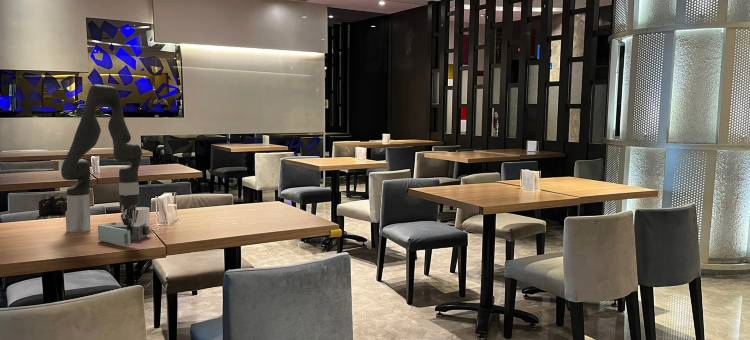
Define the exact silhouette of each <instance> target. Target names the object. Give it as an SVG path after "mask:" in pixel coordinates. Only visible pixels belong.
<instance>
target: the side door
mask: <svg viewBox="0 0 750 340" xmlns="http://www.w3.org/2000/svg"><path fill="white" fill-rule="evenodd" d="M104 225H105V224H104ZM104 225H103V224H98V225H97V230H98V231H97V232H98V233H97V234H98V241H99V242H100V241H101V242H104V243H109V244H114V245H118V246H122V247H123V246H124V247H131V241H130V230H125V229H120V228H114V227H109V226H104Z"/></svg>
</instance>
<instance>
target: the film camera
mask: <svg viewBox="0 0 750 340" xmlns="http://www.w3.org/2000/svg"><path fill="white" fill-rule="evenodd" d="M66 211H67V197H64V196H63V195H58V194H54V193H53V194H49V196H47V197H43V198H41V199H40V200H38V215H39V216H46V215H51V214H53V215H55V214H59V215H60V214H65V212H66Z"/></svg>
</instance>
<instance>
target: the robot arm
mask: <svg viewBox="0 0 750 340" xmlns="http://www.w3.org/2000/svg"><path fill="white" fill-rule="evenodd" d="M122 106H123V105H122V102H121V98H120V94H119V91H118V89H117V88H116V87H115V86H112V85H104V84H93V85H91V86H90V88H89V90H88V92H87V96H86V100H85V105H84V109H83V111H82V115H81V118H80V120H79V121H80V122H79V123H78V126H77V128H76V131H75V133H74V136H73V137H74V138H73V140H72V143H71V145H70V148H69V150H68V152H67V155H66V156H65V157H64V159H63V161H62V164H61V168H60V173H61V176H62V178H63V180H65V181H77V182H76V183H75V184H74V185H72V186H69V187H68V188H67V189H66V198H67V200H66V202H67V211H66V212H65V213H64V214H65V232H66V233H73V234H74V233H75V234H76V233H78V234H79V233H85V232H89V231H92V230H91V210H90V209H91V208H90V206H91V205H90V203H91V202H90V188H91V166H90V163H89V161H88V160H86V159H83V158H82V157H84V155H86V154H87V153H88V152H90V151H91V149H93V148H94V147H95V146H96V145H97V143H98V141H99V138H100V136H101V132H102V131H101V129H102V128H101V125H100V122H99V121H98V119H97V116H96V110H97V108H98V107H99V108H100V107H101V108H110V110H111V111H112V113H111V115H110V119H109V121H108V125H107V127H108V132H109V135H110V136H111V139H112V145H113V153H112V154H113V158H114V159H115V160H116V161H117V162H119V163H121V162H123V163H124V162H125V163H126V162H129V164H128V165H127V166H124V167H121V168H119V170H118V176H119V177H118V181H119V183H118V199H119V201H118V203H119V205H120V206H122V205H123V206H124V209H123V215H121V214H120V219H121V222H122V223H124V225H126V226H127V230H130V235H133V234H134V224H135V223H136V220H137V215H138V210H136V207H137V205H140V184H139V168H140V164H141V163H140V162H141V159H142V155H143V152H142V151H143V150H142V148H141V146H140V145H139V144H138V143H130V142H131V140H132V136H131V133H130V131H129V129H128V126H127V124H126V121H125V118H124V111H123V107H122ZM81 158H82V159H81ZM135 205H136V206H135Z"/></svg>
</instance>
